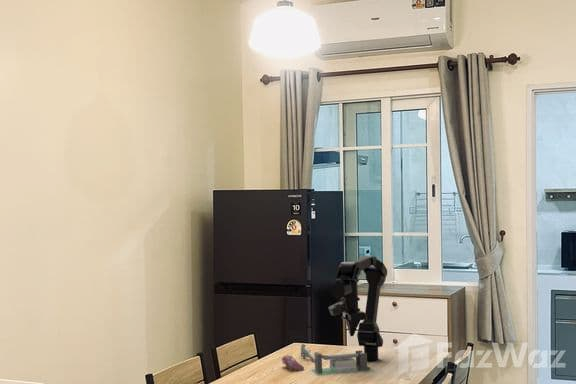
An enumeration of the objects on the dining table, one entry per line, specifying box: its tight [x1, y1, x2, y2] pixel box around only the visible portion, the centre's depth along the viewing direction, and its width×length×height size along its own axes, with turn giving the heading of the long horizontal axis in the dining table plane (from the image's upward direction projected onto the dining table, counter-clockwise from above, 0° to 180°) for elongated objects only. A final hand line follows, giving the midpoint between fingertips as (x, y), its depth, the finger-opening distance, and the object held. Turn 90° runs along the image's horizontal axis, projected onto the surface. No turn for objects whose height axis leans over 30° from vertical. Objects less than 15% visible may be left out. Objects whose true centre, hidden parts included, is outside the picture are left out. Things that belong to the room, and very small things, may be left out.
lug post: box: [314, 351, 324, 373], centre depth 253 cm, size 4×2×7 cm, turn 14°
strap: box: [322, 352, 361, 361], centre depth 255 cm, size 3×16×2 cm, turn 104°
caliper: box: [300, 343, 315, 364], centre depth 273 cm, size 20×1×6 cm, turn 21°
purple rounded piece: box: [281, 354, 305, 372], centre depth 260 cm, size 10×5×7 cm, turn 24°
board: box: [310, 367, 374, 377], centre depth 255 cm, size 10×22×1 cm, turn 104°
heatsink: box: [329, 358, 357, 374], centre depth 255 cm, size 8×8×4 cm
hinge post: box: [355, 350, 371, 371], centre depth 257 cm, size 7×4×6 cm, turn 14°
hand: (351, 336), depth 256 cm, fingers closed
